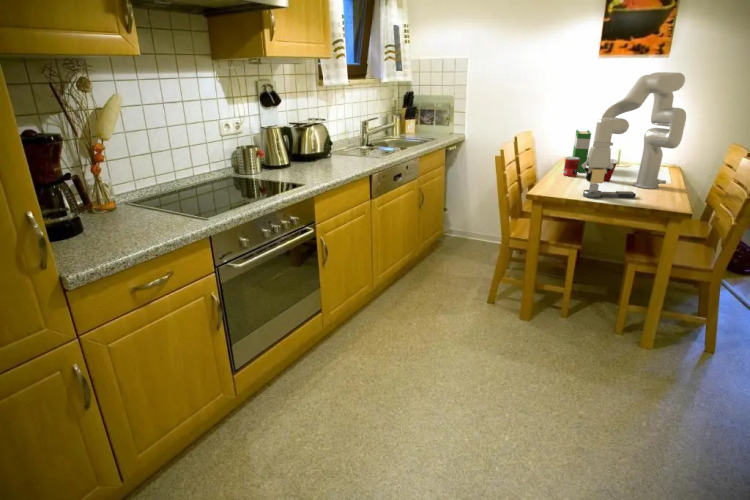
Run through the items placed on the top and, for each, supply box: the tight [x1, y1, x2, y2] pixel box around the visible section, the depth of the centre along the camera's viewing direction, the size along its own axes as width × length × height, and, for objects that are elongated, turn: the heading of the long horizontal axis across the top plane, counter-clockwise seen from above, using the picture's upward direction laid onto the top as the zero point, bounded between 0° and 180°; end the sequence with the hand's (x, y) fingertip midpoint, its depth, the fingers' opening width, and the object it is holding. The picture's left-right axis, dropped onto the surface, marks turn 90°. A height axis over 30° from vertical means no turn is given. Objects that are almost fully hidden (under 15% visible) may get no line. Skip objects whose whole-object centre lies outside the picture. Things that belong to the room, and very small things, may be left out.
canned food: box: [562, 156, 580, 178], centre depth 275 cm, size 8×8×11 cm
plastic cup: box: [603, 158, 619, 183], centre depth 262 cm, size 11×11×12 cm
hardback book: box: [571, 129, 592, 174], centre depth 288 cm, size 18×7×24 cm, turn 161°
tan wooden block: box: [587, 168, 605, 184], centre depth 229 cm, size 6×6×7 cm
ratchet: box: [582, 182, 637, 200], centre depth 231 cm, size 24×9×6 cm, turn 83°
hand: (594, 180), depth 230 cm, fingers closed on tan wooden block, 6 cm apart
